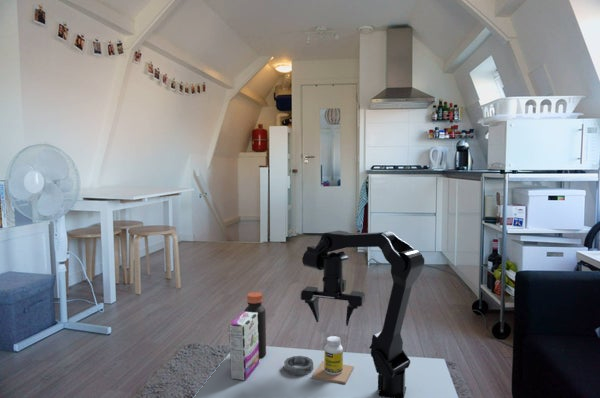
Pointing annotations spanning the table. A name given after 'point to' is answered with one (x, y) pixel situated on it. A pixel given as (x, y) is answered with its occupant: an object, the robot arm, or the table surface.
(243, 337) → the candy bar box
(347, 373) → the mat
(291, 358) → the collar
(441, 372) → the table surface
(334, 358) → the supplement bottle
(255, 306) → the vinegar
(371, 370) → the table surface
